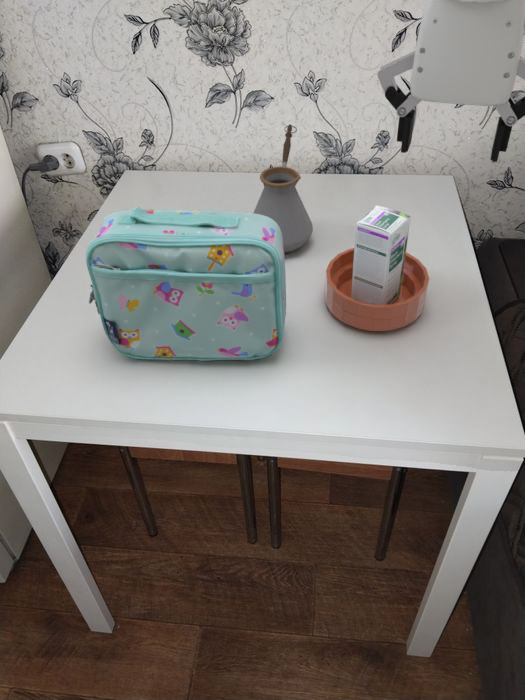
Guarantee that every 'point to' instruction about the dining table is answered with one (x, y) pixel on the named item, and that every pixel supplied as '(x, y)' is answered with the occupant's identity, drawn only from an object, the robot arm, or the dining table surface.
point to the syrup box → (379, 255)
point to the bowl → (375, 314)
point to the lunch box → (189, 284)
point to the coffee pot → (285, 201)
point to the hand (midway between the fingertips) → (449, 152)
